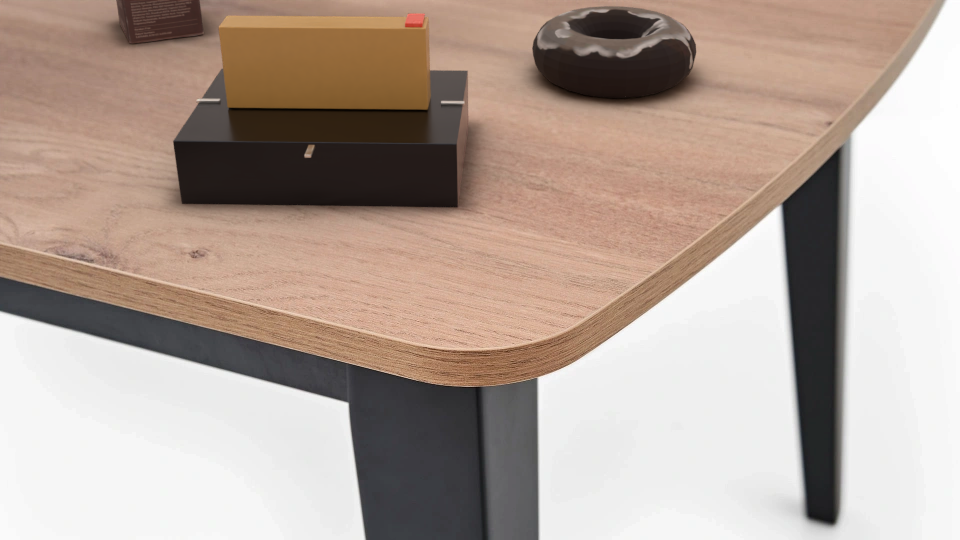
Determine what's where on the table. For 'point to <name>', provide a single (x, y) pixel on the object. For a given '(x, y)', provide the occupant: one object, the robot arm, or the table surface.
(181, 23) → the box
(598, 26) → the donut
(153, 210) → the table surface
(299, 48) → the tan slab
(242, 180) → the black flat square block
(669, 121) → the table surface
